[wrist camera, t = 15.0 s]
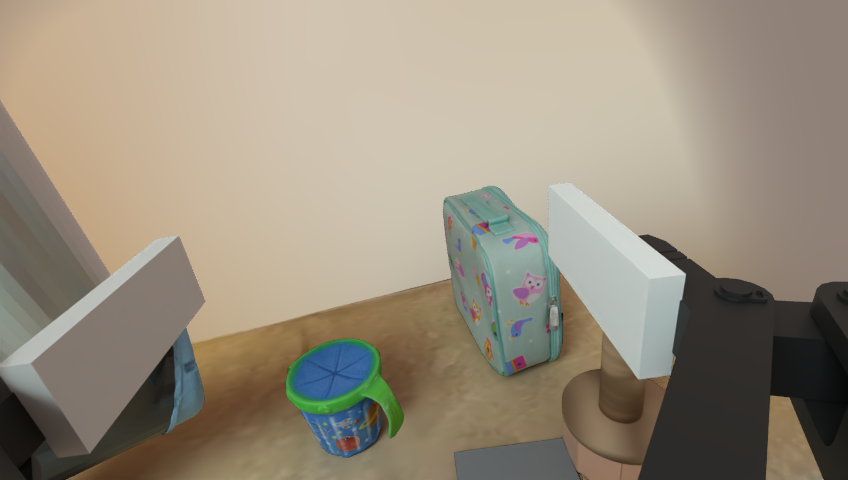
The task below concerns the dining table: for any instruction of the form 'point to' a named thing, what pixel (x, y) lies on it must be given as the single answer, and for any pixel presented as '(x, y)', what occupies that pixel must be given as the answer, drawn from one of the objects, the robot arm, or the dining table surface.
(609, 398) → the paper towel holder
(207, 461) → the dining table surface
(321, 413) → the snack cup
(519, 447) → the mat
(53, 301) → the robot arm
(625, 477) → the bowl
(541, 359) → the lunch box
